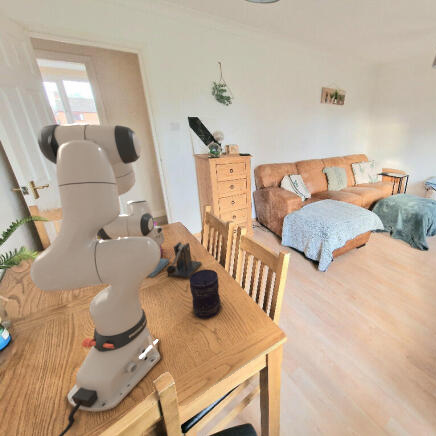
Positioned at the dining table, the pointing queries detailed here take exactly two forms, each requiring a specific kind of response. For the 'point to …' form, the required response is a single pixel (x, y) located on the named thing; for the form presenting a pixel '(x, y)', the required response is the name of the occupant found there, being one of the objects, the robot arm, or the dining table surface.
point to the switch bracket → (184, 263)
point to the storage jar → (205, 293)
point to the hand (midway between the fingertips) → (150, 260)
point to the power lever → (175, 261)
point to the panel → (159, 267)
